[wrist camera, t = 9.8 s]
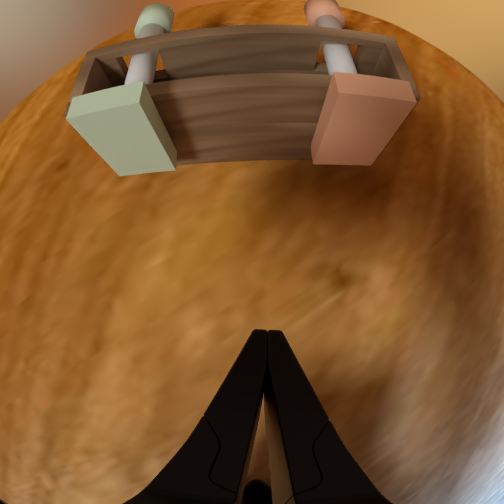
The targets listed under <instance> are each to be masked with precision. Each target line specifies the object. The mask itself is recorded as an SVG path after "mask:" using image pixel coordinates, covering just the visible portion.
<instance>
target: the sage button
mask: <svg viewBox="0 0 504 504" xmlns="http://www.w3.org/2000/svg"><path fill="white" fill-rule="evenodd" d="M173 19H174V12H173V10H172V9H171V8H170V7H169V6H167V5H165V4H159V3H157V4H151V5H149V6H147V7H145V8H144V9H143V10H142V12H141V14H140V17H139V20H138V22H137V25H136V27H135V36H136V38H137V39H139V38H143V37H148V36H154V35H159V34H165V33H170V32H171V28H172V24H173ZM158 57H159V50H158V49H155V50H150V51H145V52H140V53H135V54H133V55H132V59H131V62H130V66H129V69H128V73H127V76H126V80H125V84H124V85H122V86H117V87H113V88H108V89H104V90H100V91H96V92H92V93H88V94H84V95H81V96H77V97H74V98H72V101H71V104H70V108H69V111H68V114H67V118H66V119H67V121H68V122H69V123H70V124H71V125H72V126H73V127H74V128H75V129H76V130H77V131H78V133H79V134H80V135H81V136H82V137H83V138H84V139H85V140H86V141H87V142H88V143H89V144H90V146H91V147H92V148H93V149H94V150H95V151H96V152H97V153H98V154H99V155H100V156H101V157H102V158H103V159H104V160H105V161H106V162H107V164H108V165H109V166H110V167H111V168H112V169H113V170H114V171H115V172H116V173H117V174H118V175H119V176H125V175H134V174H142V173H152V172H161V171H172V170H176V159H177V151H176V149H175V147H174V145H173V142H172V140H171V138H170V136H169V134H168V132H167V130H166V128H165V126H164V124H163V121H162V119H161V117H160V115H159V113H158V111H157V109H156V107H155V105H154V102H153V100H152V98H151V96H150V94H149V92H148V90H147V87H146V84H151V83H153V80H154V75H155V70H156V66H157V61H158Z"/></svg>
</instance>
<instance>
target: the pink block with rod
mask: <svg viewBox="0 0 504 504" xmlns="http://www.w3.org/2000/svg"><path fill="white" fill-rule="evenodd" d="M304 10H305V14H306V17H307V21H308V24H309V26H317V27H329V28H338V29H343V28H344V26H345V20H344V17H343V15H342V12H341V10H340V8H339V6H338V4H337V2H336V1H335V0H308V1H307V2H306V3H305V6H304ZM320 44H321V47H322V51H323V54H324V58H325V62H326V66H327V69H328V73H329V75H332V78H331V81H330V85H329V88H328V91H327V94H326V98H325V101H324V104H323V108H322V111H321V114H320V117H319V121H318V124H317V127H316V130H315V134H314V137H313V140H312V143H311V153H312V161H313V164H327V165H365V166H371V165H372V164H373V162H374V161H375V160H376V158H377V157H378V156H379V154H380V153H381V152H382V150H383V149H384V147H385V146H386V145H387V143H388V142H389V141H390V139H391V138H392V137H393V135H394V134H395V132H396V131H397V130H398V128H399V127H400V125H401V124H402V123H403V121H404V120H405V119H406V117H407V116H408V114H409V113H410V112H411V110H412V109H413V107H414V106H415V104H416V103H417V101H416V99H415V96H414V93H413V91H412V88H411V86H410V83H409V81H403V80H397V79H391V78H385V77H378V76H370V75H362V74H358V73H357V70H356V67H355V64H354V61H353V58H352V55H351V52H350V49H349V47H348V44H346V43H337V42H326V41H320Z"/></svg>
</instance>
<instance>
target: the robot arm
mask: <svg viewBox="0 0 504 504" xmlns="http://www.w3.org/2000/svg"><path fill="white" fill-rule="evenodd" d="M263 393H264V410H265V422H266V433H267V445H268V456H269V468H270V479H271V488H270V487H269V486H267V485H266V484H264V483H263V482H261V481H260V480H253V481H251V482H250V483H249V484H247V485H246V486H245V483H246V479H247V474H248V469H249V465H250V460H251V455H252V451H253V446H254V441H255V436H256V431H257V426H258V421H259V416H260V411H261V406H262V400H263ZM328 420H329V418H328V416H327V414H326V412H325V410H324V409H323V407H322V405H321V403H320V401H319V399H318V397H317V396H316V394H315V392H314V390H313V388H312V386H311V384H310V383H309V381H308V379H307V377H306V375H305V373H304V371H303V369H302V368H301V366H300V364H299V362H298V360H297V358H296V356H295V355H294V353H293V351H292V349H291V347H290V345H289V343H288V341H287V340H286V338H285V336H284V334H283V332H282V331H280V330H269V331H268V332H267V330H263V329H254V330H253V331H252V333H251V335H250V336H249V338H248V340H247V342H246V343H245V345H244V347H243V349H242V350H241V352H240V354H239V356H238V357H237V359H236V361H235V362H234V364H233V366H232V368H231V369H230V371H229V373H228V374H227V376H226V378H225V380H224V381H223V383H222V385H221V386H220V388H219V390H218V391H217V393H216V395H215V396H214V398H213V400H212V401H211V403H210V405H209V406H208V408H207V410H206V411H205V413H204V416H202V418H201V419H200V421H199V423H198V424H197V426H196V427H195V429H194V430H193V432H192V433H191V435H190V436H189V438H188V439H187V441H186V442H185V443H184V444H183V446H182V447H181V448H180V449H179V451H178V452H177V453H176V454H175V456H174V457H173V458H172V459H171V460H170V461H169V462H168V464H167V465H166V466H165V467H164V468H163V469H162V470H161V471H160V473H159V474H158V475H157V476H156V477H155V478H154V479H153V480H152V481H151V482H150V484H149V485H148V486H147V487H145V488H144V489H143V490H142V491H141V492H140V493H139V494H137V495H136V496H134V497H133V498H131V499H130V500H128V501H126V502H125V503H123V504H393V503H391V502H390V501H389V500H387V499H386V498H385V497H384V496H383V495H382V494H381V493H380V492H379V491H378V490H377V488H376V487H375V486H374V485H373V483H372V482H371V481H370V479H369V478H368V477H367V476H366V474H365V473H364V472H363V470H362V469H361V468H360V466H359V465H358V464H357V462H356V461H355V460H354V458H353V457H352V456H351V454H350V453H349V451H348V450H347V448H346V447H345V445H344V444H343V442H342V441H341V439H340V437H339V435H338V434H337V432H336V430H335V429H334V427H333V425H332V423H331V421H328ZM255 484H257V485H259V486H257V487H255V486H254V485H255ZM0 504H7V503H6V502H4V501H3V500H1V499H0Z"/></svg>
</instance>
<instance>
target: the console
mask: <svg viewBox="0 0 504 504" xmlns="http://www.w3.org/2000/svg"><path fill="white" fill-rule="evenodd" d="M320 41H326V42H337V43H346V44H354V45H358V48H357V51H356V54H355V57H354V60H353V61H354V64H355V67H356V70H357V73H358V74H362V75H370V76H378V77H385V78H391V79H397V80H403V81H409V83H410V86H411V88H412V91H413V93H414V96H415V99H416V101H417V102H418V101H419V100H420V96H419V93H418V90H417V88H416V85H415V83H414V81H413V78H412V76H411V73H410V71H409V69H408V67H407V64H406V62H405V60H404V58H403V56H402V53H401V51H400V49H399V47H398V45H397V43H396V41H395V39H394V37H390V36H385V35H379V34H374V33H368V32H361V31H354V30H347V29H338V28H329V27H317V26H302V25H237V26H222V27H210V28H200V29H192V30H184V31H177V32H171V33H165V34H159V35H154V36H148V37H143V38H139V39H134V40H130V41H125V42H121V43H117V44H113V45H110V46H106V47H102V48H99V49H95V50H92V51H89V52H87V54H86V56H85V58H84V61H83V63H82V66H81V68H80V71H79V73H78V76H77V79H76V81H75V84H74V87H73V90H72V93H71V96H70V99H69V102H68V105H67V108H66V111H65V114H64V115H65V116H66V117H67V114H68V111H69V108H70V104H71V101H72V98H74V97H77V96H81V95H84V94H88V93H92V92H96V91H100V90H104V89H108V88H113V87H117V86H122V85H124V84H125V80H126V76H127V73H128V68H127V65H126V63H125V61H124V59H123V57H122V56H126V55H130V54H135V53H140V52H145V51H150V50H155V49H158V50H159V53H160V55H161V58H162V61H163V64H164V67H165V70H159V71H155V75H154V80H153V83H151V84H146V87H147V90H148V92H149V94H150V96H151V98H152V100H153V102H154V105H155V107H156V109H157V111H158V113H159V115H160V117H161V119H162V121H163V124H164V126H165V128H166V130H167V132H168V134H169V136H170V138H171V140H172V142H173V145H174V147H175V149H176V151H177V159H176V165H185V164H198V163H212V162H229V161H251V160H304V159H306V160H312V153H311V143H312V140H313V137H314V134H315V130H316V127H317V124H318V121H319V117H320V114H321V111H322V108H323V104H324V101H325V98H326V94H327V91H328V88H329V85H330V81H331V78H332V75H329V73H328V69H327V66H326V63H317V62H316V58H317V54H318V49H319V44H320ZM416 104H417V103H416ZM416 104H415V105H416ZM414 107H415V106H414ZM414 107H413V108H414ZM412 110H413V109H412ZM412 110H411V111H412ZM409 114H410V113H409ZM409 114H408V115H409ZM407 117H408V116H407ZM407 117H406V118H407ZM404 121H405V120H404ZM404 121H403V122H404ZM402 124H403V123H402ZM402 124H401V125H402ZM401 125H400V126H401ZM399 128H400V127H399ZM399 128H398V129H399ZM396 132H397V131H396ZM396 132H395V133H396ZM394 135H395V134H394ZM394 135H393V136H394ZM391 139H392V138H391ZM391 139H390V140H391ZM388 143H389V142H388ZM388 143H387V144H388ZM385 147H386V146H385ZM385 147H384V148H385ZM382 151H383V150H382ZM380 154H381V153H380ZM380 154H379V155H380ZM377 158H378V157H377ZM377 158H376V159H377Z"/></svg>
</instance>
